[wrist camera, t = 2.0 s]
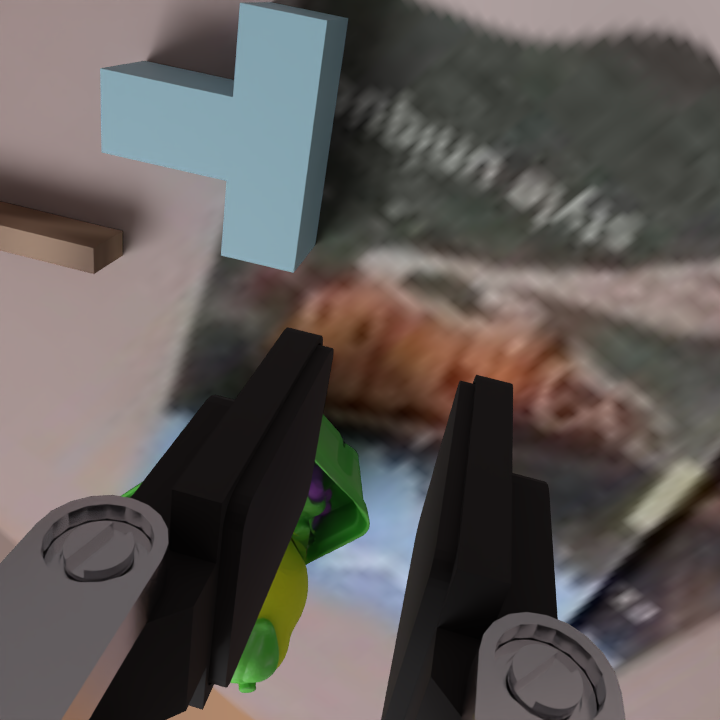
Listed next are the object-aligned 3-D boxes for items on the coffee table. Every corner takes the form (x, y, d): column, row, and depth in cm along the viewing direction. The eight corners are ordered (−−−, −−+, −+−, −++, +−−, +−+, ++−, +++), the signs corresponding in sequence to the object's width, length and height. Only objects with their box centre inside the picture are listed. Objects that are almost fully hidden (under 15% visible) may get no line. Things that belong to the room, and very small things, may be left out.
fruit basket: (298, 348, 32) (203, 498, 23) (409, 478, 35) (367, 667, 25) (147, 451, 37) (16, 611, 27) (254, 559, 40) (167, 743, 30)
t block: (348, 18, 25) (327, 20, 22) (315, 244, 30) (293, 272, 27) (146, -24, 26) (98, -27, 23) (142, 204, 30) (102, 227, 27)
